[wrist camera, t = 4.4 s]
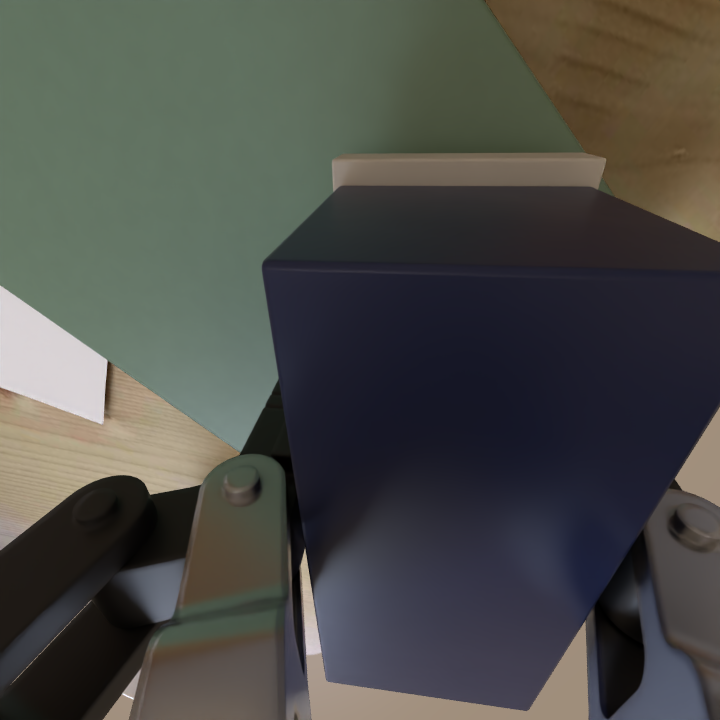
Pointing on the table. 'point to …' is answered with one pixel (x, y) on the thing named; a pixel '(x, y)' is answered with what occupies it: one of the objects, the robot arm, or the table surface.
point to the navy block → (482, 407)
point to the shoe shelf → (221, 160)
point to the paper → (48, 361)
